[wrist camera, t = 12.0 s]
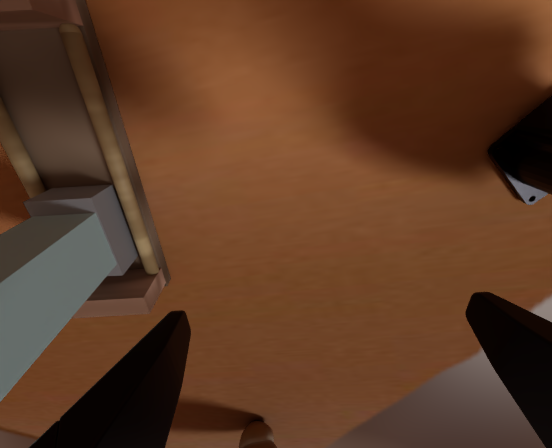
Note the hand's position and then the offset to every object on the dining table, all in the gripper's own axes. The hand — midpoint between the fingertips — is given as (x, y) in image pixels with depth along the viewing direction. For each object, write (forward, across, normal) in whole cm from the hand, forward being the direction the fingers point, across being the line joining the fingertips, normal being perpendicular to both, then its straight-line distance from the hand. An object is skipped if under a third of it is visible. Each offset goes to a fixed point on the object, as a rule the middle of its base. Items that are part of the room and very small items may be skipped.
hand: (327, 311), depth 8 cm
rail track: (+13, +15, -1) cm, 20 cm away
